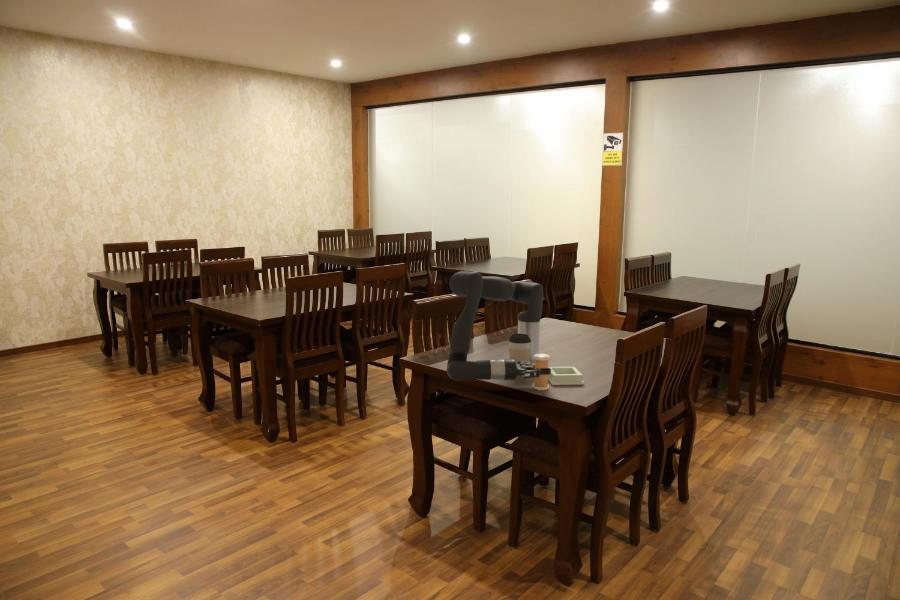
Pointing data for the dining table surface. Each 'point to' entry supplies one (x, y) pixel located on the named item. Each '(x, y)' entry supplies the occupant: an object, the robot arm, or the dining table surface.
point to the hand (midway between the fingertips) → (548, 369)
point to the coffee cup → (519, 347)
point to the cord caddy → (565, 376)
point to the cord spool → (541, 381)
